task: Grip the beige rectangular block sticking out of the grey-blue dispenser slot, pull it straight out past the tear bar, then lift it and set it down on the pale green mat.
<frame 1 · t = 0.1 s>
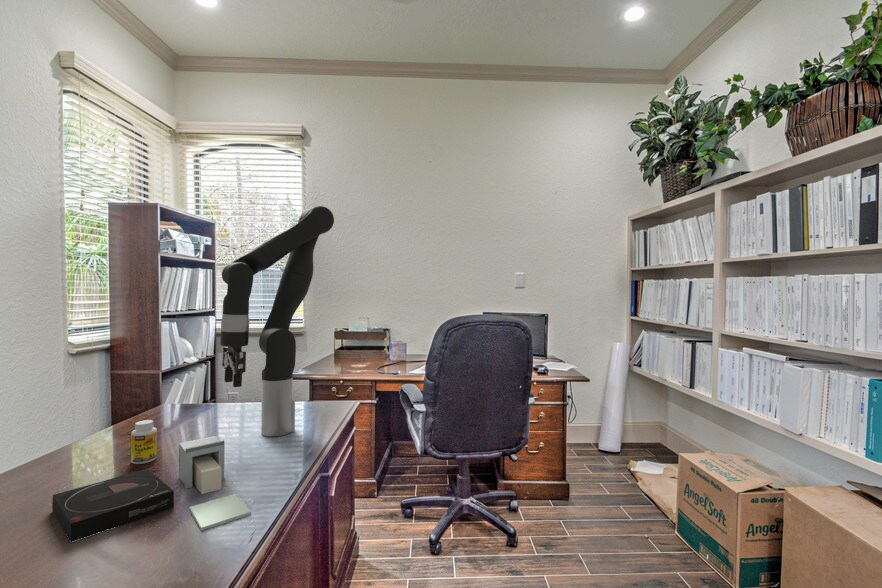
hand: (232, 384, 127), 17 cm above the table, tool pointing down, fingers open, 8 cm apart
beige rectangular block: (205, 484, 100), on the table
dispenser: (201, 477, 103), on the table
supplement bottle: (144, 461, 113), on the table
mat: (220, 512, 87), on the table
portable cd player: (113, 512, 88), on the table
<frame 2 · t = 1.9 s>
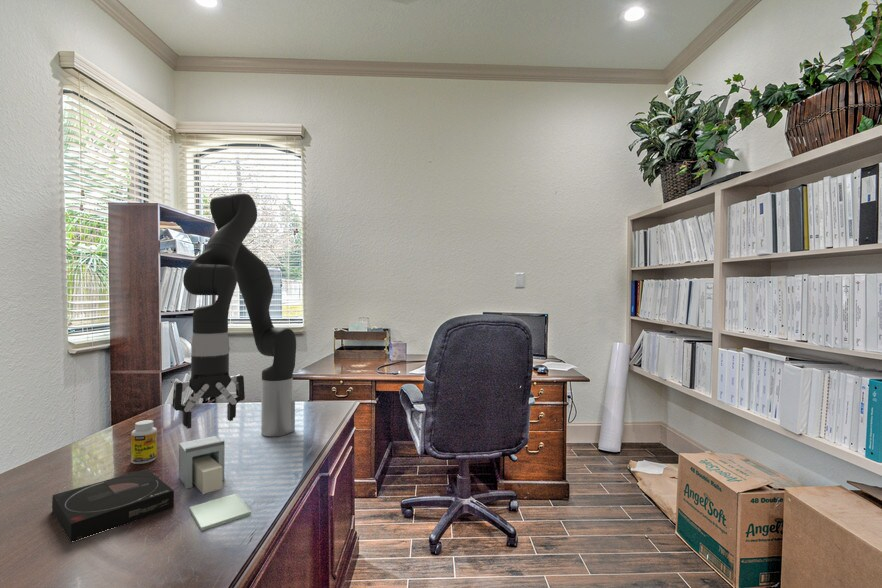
hand: (209, 423, 97), 15 cm above the table, tool pointing down, fingers open, 8 cm apart
nothing on the table moved.
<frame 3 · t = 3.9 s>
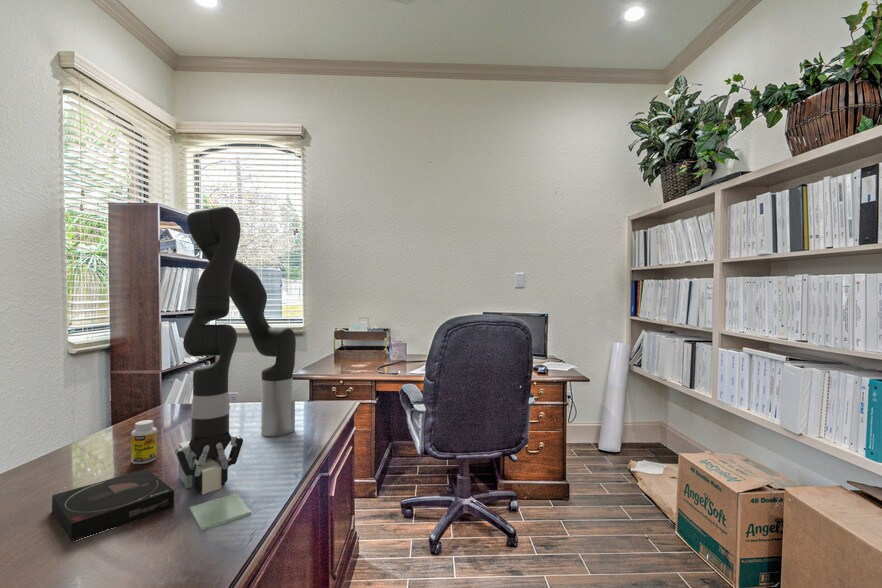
hand: (210, 487, 97), 1 cm above the table, tool pointing down, fingers closed on beige rectangular block, 4 cm apart
beige rectangular block: (204, 484, 100), on the table, touching gripper
everything else where it was.
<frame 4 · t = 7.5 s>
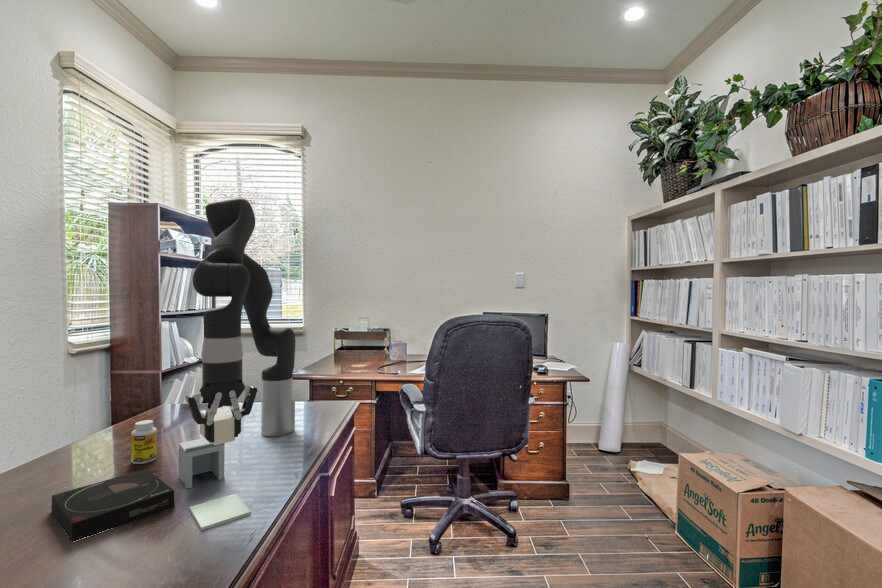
hand: (223, 438, 90), 14 cm above the table, tool pointing down, fingers closed on beige rectangular block, 4 cm apart
beige rectangular block: (216, 436, 93), point 13 cm above the table, touching gripper
everything else where it was.
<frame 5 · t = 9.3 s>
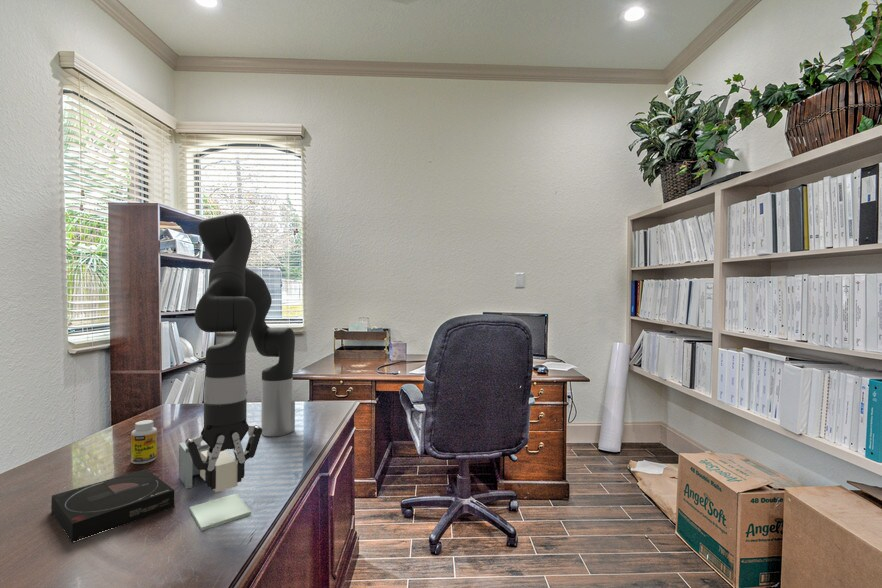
hand: (225, 483, 84), 7 cm above the table, tool pointing down, fingers closed on beige rectangular block, 4 cm apart
beige rectangular block: (218, 480, 87), point 7 cm above the table, touching gripper
everything else where it was.
when the fingers open (2 cm above the table, at t = 10.9 s): beige rectangular block stays where it is, resting on mat.
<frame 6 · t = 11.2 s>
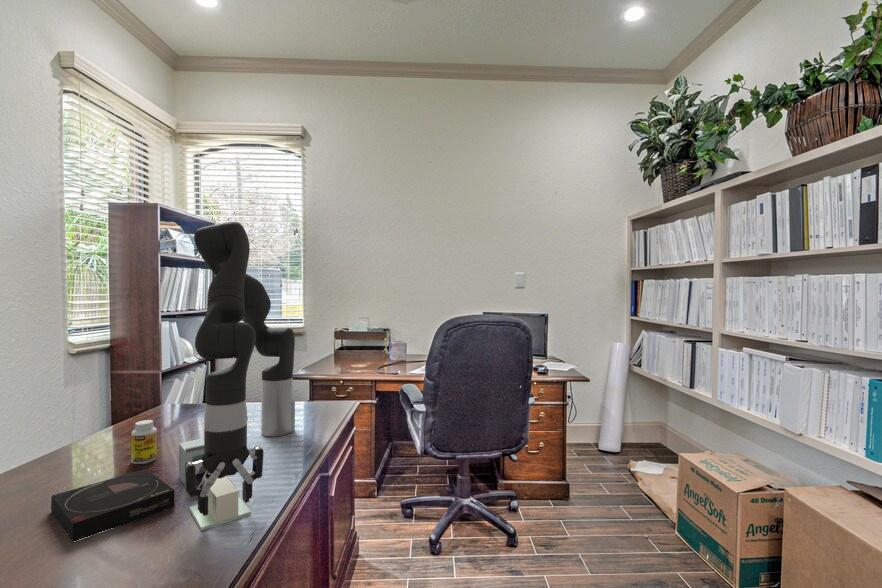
hand: (225, 507, 84), 3 cm above the table, tool pointing down, fingers open, 7 cm apart
beige rectangular block: (220, 509, 87), point 1 cm above the table, touching mat
everything else where it was.
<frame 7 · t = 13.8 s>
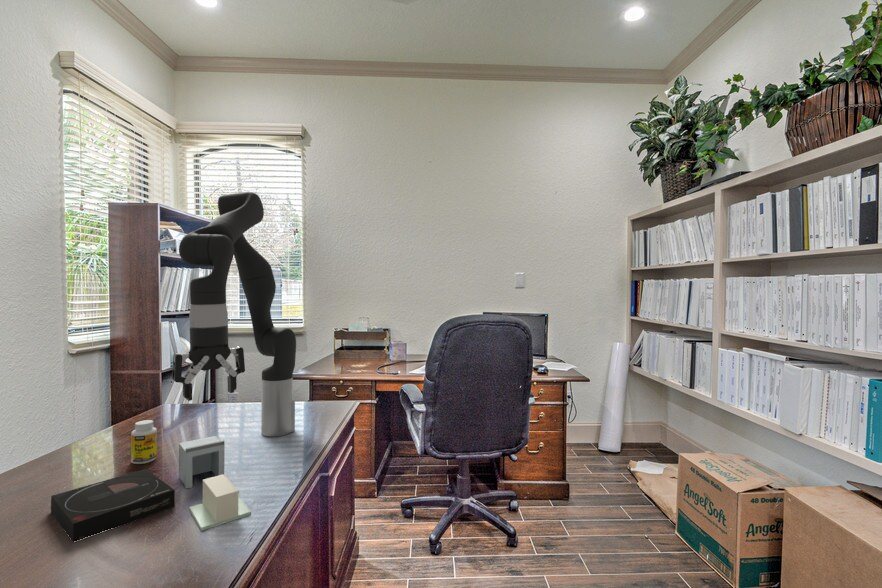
hand: (210, 396, 96), 22 cm above the table, tool pointing down, fingers open, 8 cm apart
nothing on the table moved.
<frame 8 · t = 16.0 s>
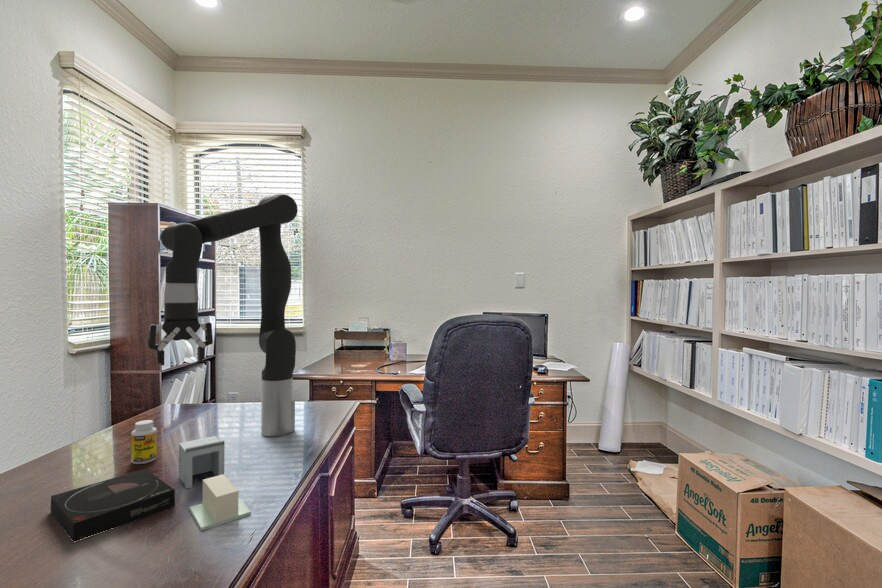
hand: (181, 363, 111), 26 cm above the table, tool pointing down, fingers open, 8 cm apart
nothing on the table moved.
at the end: beige rectangular block inside the target area on the mat (0.0 cm from its centre), point 0.6 cm above the mat's base; beige rectangular block touching mat; the gripper is holding nothing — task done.
